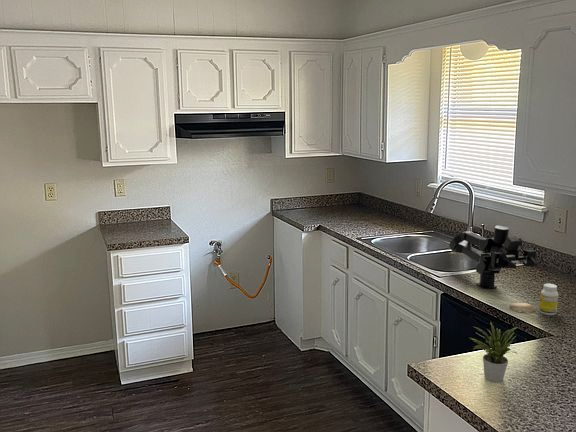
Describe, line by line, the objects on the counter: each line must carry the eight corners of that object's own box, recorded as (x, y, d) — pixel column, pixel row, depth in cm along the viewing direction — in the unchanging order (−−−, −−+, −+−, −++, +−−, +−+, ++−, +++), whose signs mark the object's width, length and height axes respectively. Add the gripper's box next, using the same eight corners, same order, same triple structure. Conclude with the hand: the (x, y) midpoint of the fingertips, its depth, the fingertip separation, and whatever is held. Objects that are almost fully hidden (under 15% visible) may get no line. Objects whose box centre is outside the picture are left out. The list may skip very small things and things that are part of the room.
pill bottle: (541, 308, 230) (544, 281, 227) (558, 312, 226) (561, 285, 224) (536, 313, 225) (539, 285, 223) (553, 317, 221) (556, 289, 219)
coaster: (505, 305, 233) (505, 303, 233) (525, 303, 235) (525, 301, 235) (518, 313, 224) (518, 311, 224) (539, 311, 226) (539, 309, 226)
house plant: (491, 361, 184) (495, 312, 181) (530, 379, 173) (535, 327, 169) (460, 373, 176) (464, 322, 173) (498, 392, 165) (503, 338, 162)
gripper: (485, 235, 238) (507, 247, 224) (525, 233, 243) (550, 245, 228) (482, 261, 241) (504, 275, 227) (521, 258, 246) (546, 271, 231)
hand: (526, 266), depth 228 cm, fingers open, 9 cm apart
